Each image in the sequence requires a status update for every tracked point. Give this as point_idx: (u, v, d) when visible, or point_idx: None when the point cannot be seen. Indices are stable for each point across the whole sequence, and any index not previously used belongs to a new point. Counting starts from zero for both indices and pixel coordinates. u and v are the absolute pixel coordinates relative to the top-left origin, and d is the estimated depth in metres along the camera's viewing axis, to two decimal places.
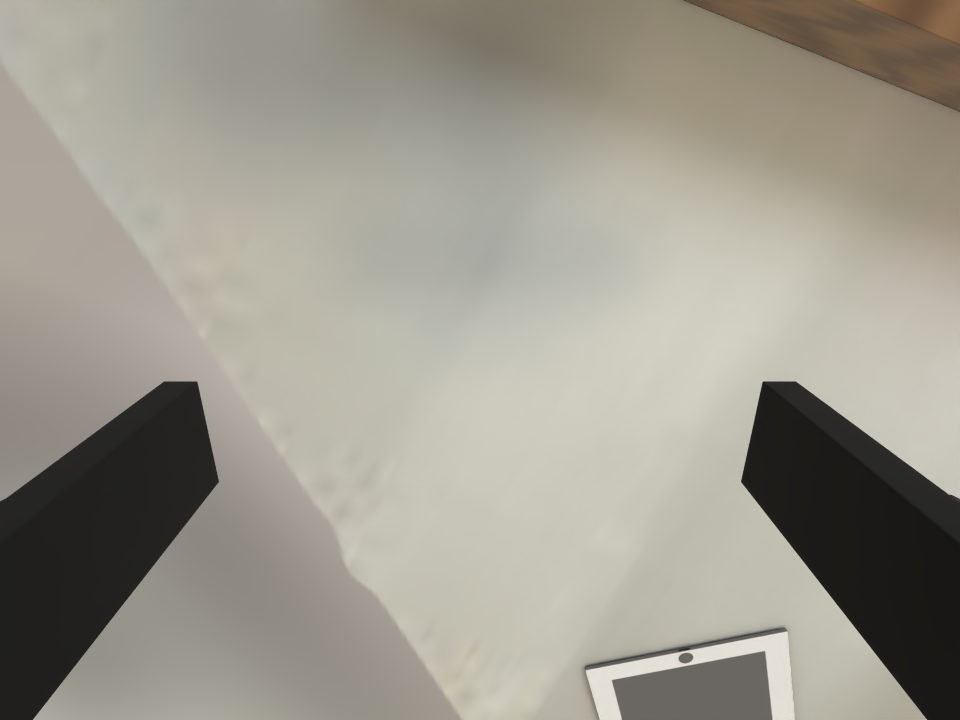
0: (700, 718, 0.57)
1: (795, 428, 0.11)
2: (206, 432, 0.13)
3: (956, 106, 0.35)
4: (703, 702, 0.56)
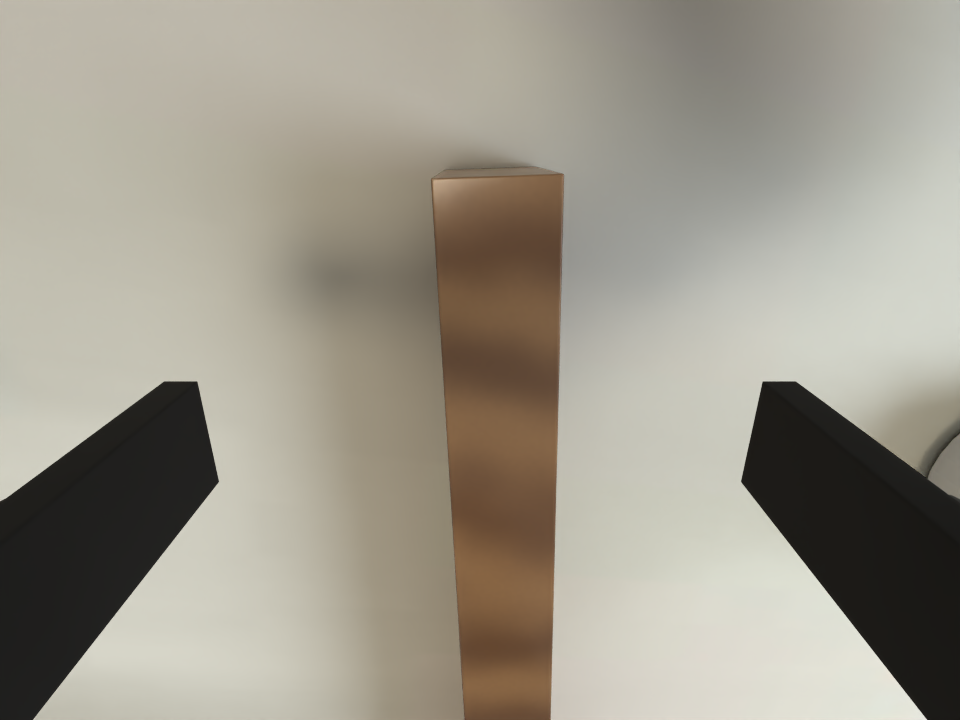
0: None
1: (795, 428, 0.11)
2: (206, 432, 0.13)
3: None
4: None
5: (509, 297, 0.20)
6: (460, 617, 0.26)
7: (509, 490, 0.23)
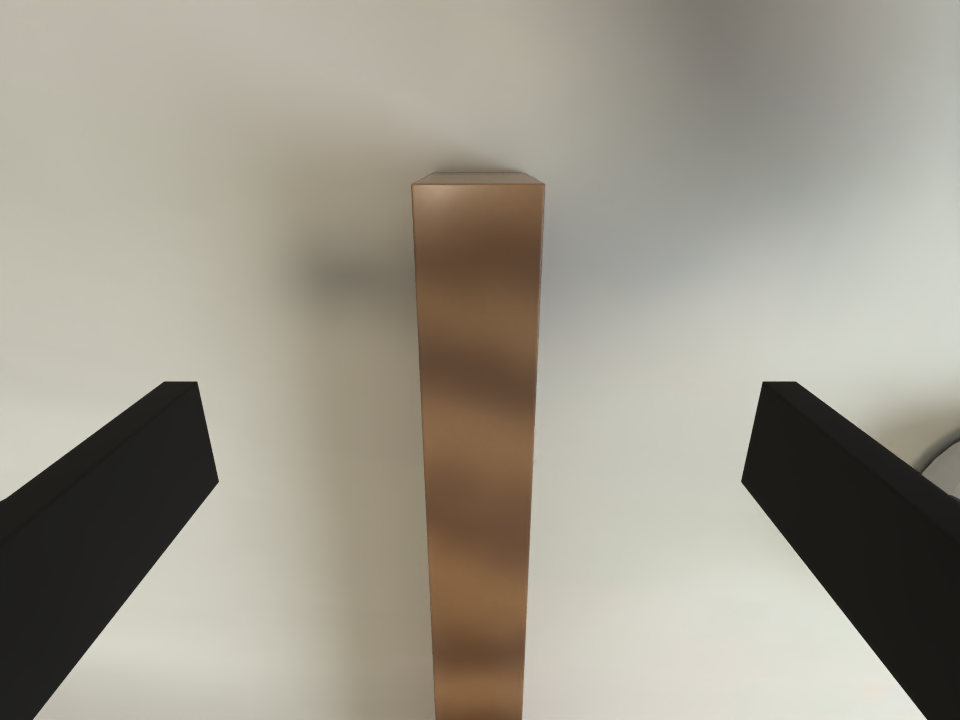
0: None
1: (795, 428, 0.11)
2: (206, 432, 0.13)
3: None
4: None
5: (488, 304, 0.20)
6: (433, 621, 0.26)
7: (484, 497, 0.23)
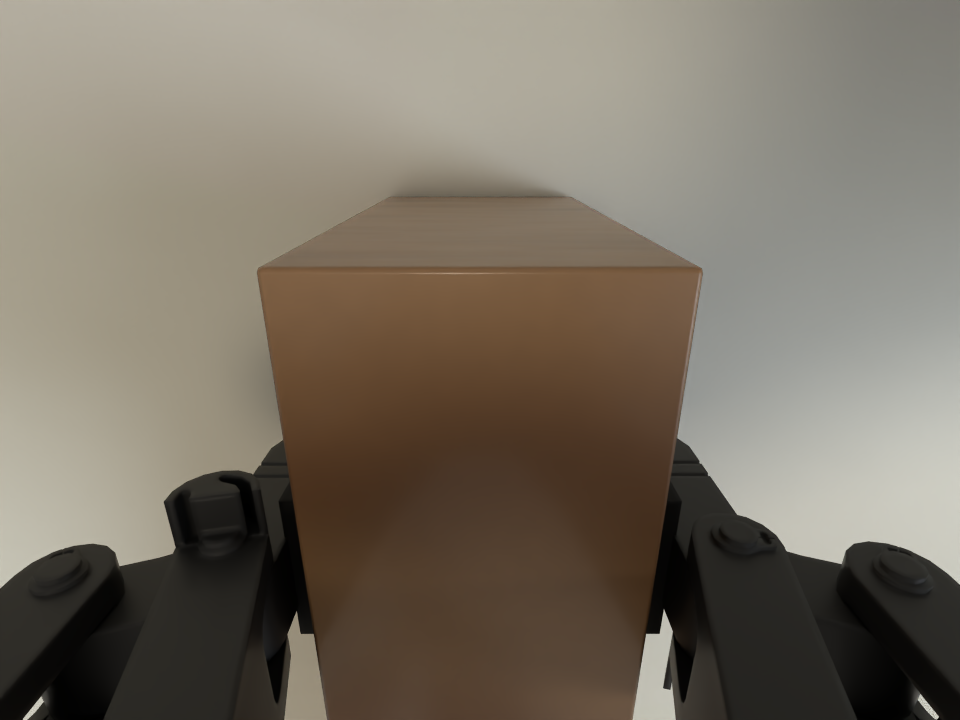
0: None
1: None
2: None
3: None
4: None
5: (508, 592, 0.07)
6: None
7: None
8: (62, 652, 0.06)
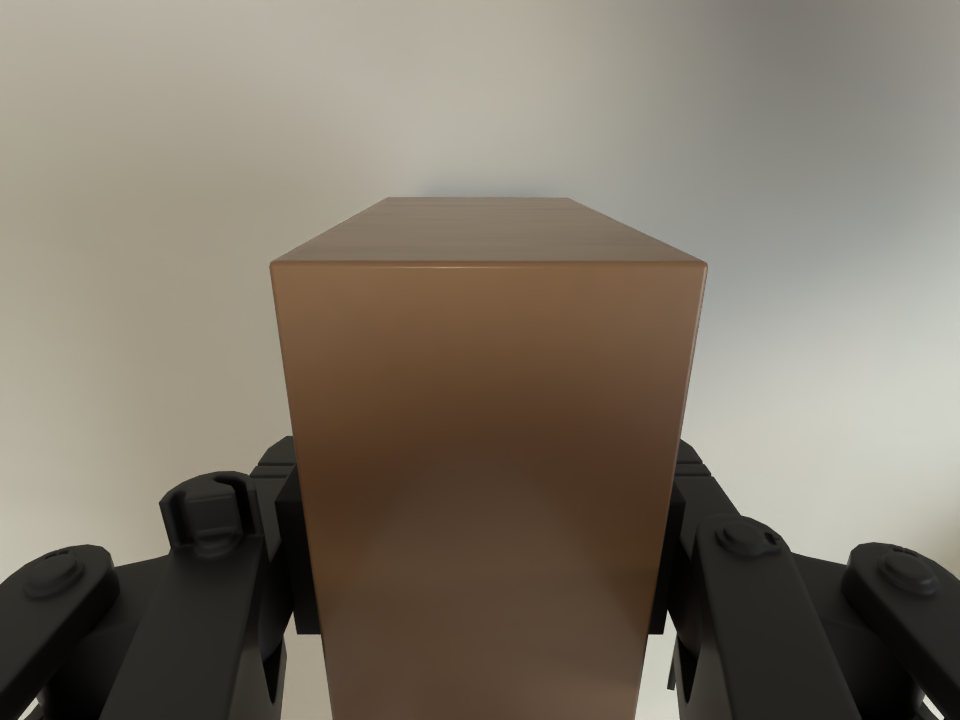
0: None
1: None
2: None
3: None
4: None
5: (514, 585, 0.07)
6: None
7: None
8: (57, 653, 0.06)
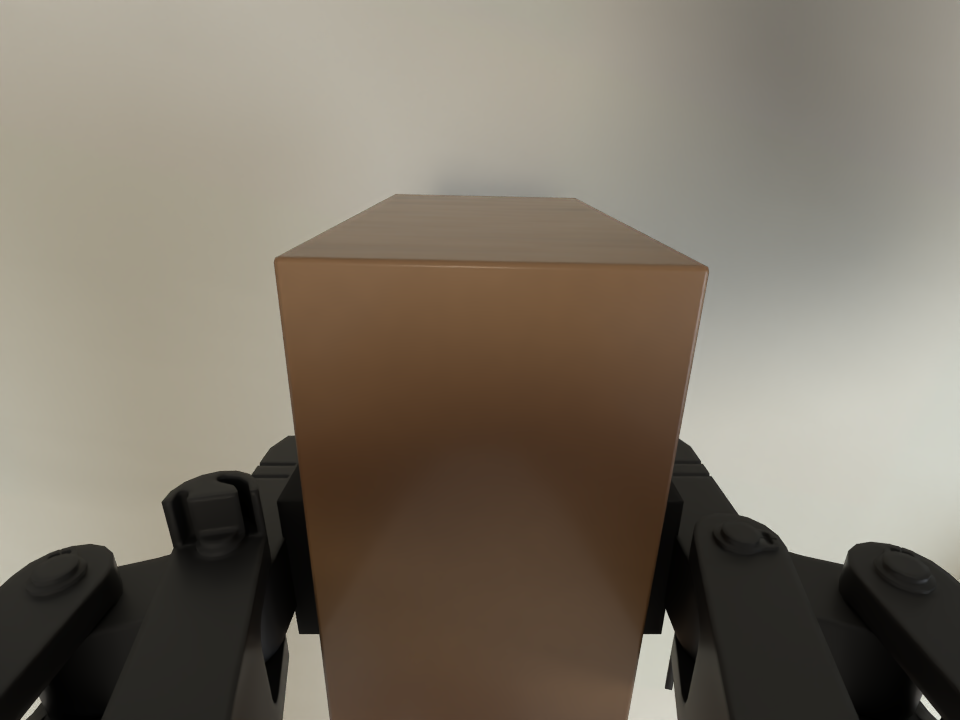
0: None
1: None
2: None
3: None
4: None
5: (509, 583, 0.07)
6: None
7: None
8: (60, 652, 0.06)
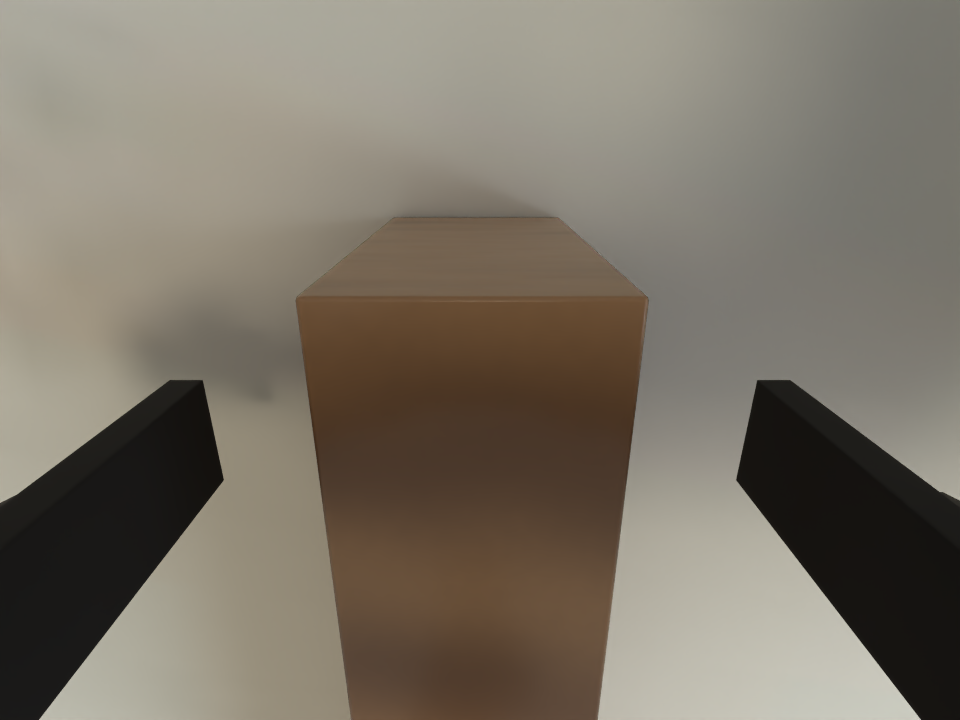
0: None
1: (789, 426, 0.11)
2: (211, 431, 0.13)
3: None
4: None
5: (496, 561, 0.08)
6: None
7: None
8: None
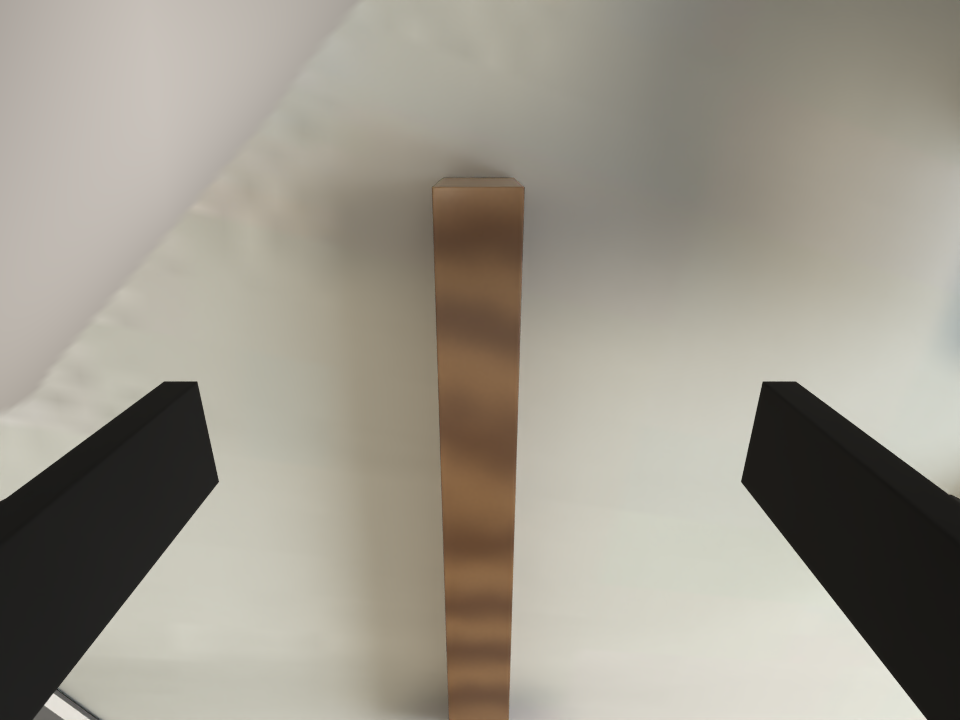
0: None
1: (795, 428, 0.11)
2: (206, 432, 0.13)
3: None
4: None
5: (485, 272, 0.28)
6: (444, 518, 0.34)
7: (482, 417, 0.31)
8: None
